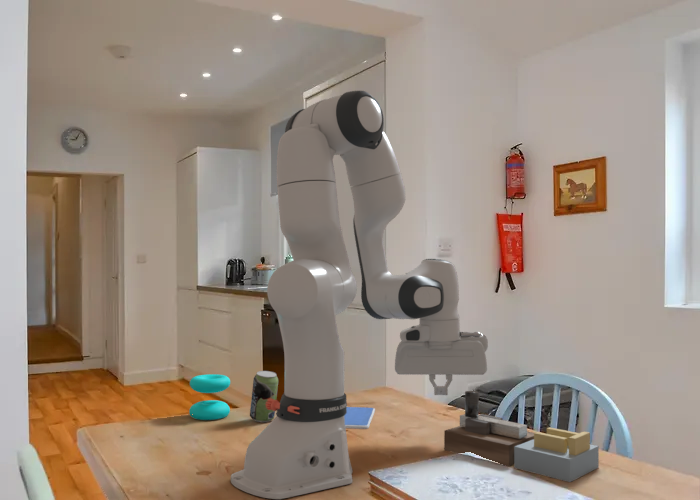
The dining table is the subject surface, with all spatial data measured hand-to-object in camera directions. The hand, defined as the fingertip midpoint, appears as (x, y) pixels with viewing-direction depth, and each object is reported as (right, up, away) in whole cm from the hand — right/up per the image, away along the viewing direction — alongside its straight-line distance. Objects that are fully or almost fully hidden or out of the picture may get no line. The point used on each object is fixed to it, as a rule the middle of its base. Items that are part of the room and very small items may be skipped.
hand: (440, 394), depth 138 cm
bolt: (+9, -5, -10) cm, 14 cm away
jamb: (+9, -10, -10) cm, 16 cm away
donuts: (-55, -10, +19) cm, 59 cm away
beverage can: (-41, -10, +15) cm, 45 cm away
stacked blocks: (+19, -9, -20) cm, 29 cm away
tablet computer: (-21, -11, +18) cm, 30 cm away
